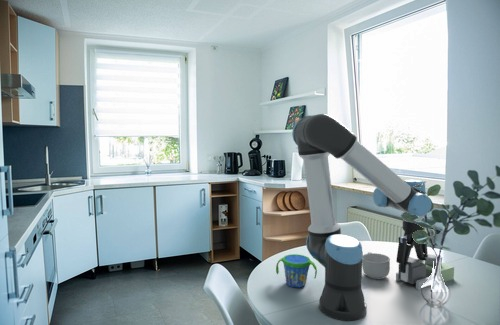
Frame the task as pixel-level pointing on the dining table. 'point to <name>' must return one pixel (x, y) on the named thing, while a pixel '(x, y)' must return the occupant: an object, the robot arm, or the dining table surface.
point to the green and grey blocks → (446, 271)
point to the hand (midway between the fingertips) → (411, 278)
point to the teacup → (376, 265)
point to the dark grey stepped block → (414, 270)
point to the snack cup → (296, 269)
